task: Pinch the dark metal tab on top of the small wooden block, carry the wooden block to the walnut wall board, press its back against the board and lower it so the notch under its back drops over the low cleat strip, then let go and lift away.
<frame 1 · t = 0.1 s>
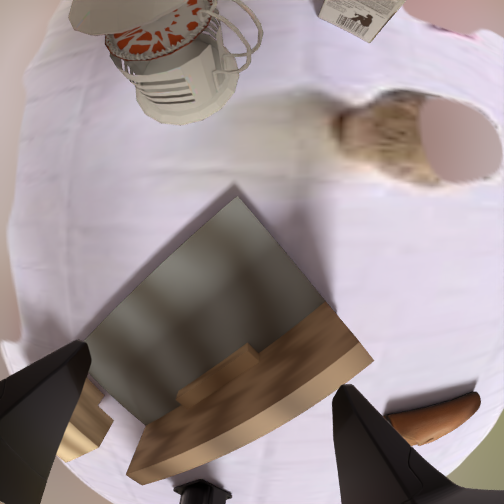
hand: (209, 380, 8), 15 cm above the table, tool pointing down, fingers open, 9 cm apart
french press: (194, 80, 21), on the table
wall board: (189, 342, 24), on the table
sunglasses case: (424, 419, 28), on the table
wooden block: (81, 403, 26), on the table
coffee box: (353, 10, 20), on the table
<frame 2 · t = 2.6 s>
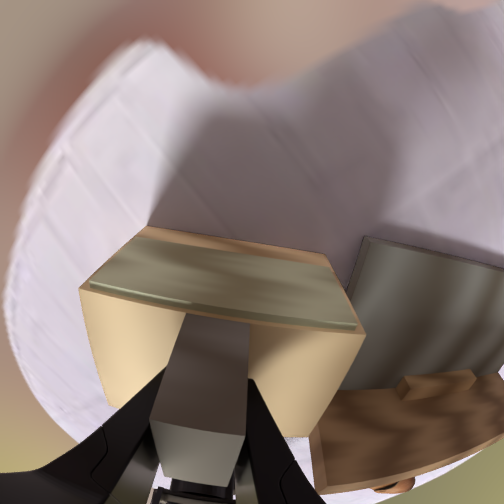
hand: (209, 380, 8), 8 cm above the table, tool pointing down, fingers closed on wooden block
wall board: (453, 339, 18), on the table
sunglasses case: (386, 473, 31), on the table
wooden block: (226, 295, 16), on the table, touching gripper
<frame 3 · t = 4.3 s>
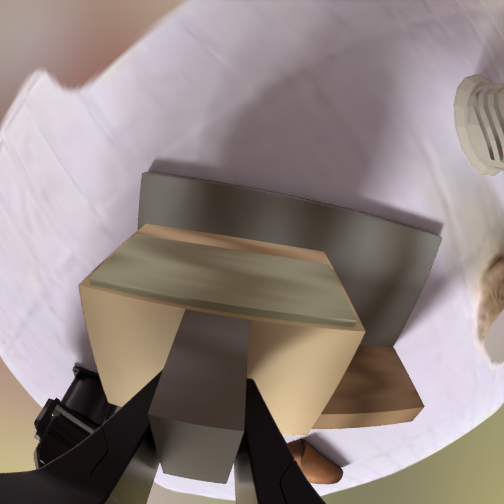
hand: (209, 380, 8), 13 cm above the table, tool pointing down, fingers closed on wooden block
french press: (488, 134, 16), on the table
wall board: (288, 285, 22), on the table
sunglasses case: (303, 458, 36), on the table
wooden block: (226, 292, 16), point 5 cm above the table, touching gripper
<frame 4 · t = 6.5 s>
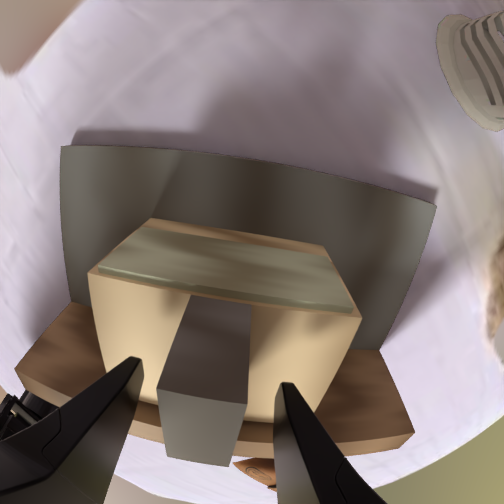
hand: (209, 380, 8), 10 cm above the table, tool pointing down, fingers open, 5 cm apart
french press: (484, 81, 11), on the table
wall board: (231, 271, 17), on the table
sunglasses case: (286, 470, 31), on the table
wooden block: (228, 285, 17), point 1 cm above the table, touching wall board
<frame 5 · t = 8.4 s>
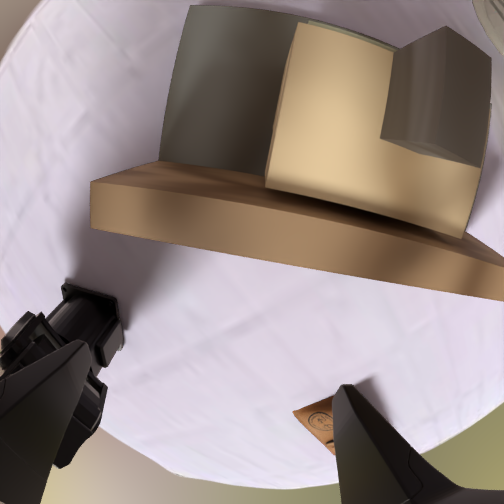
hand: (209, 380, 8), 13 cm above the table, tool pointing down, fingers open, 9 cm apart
wall board: (349, 127, 16), on the table
sunglasses case: (343, 424, 30), on the table
wooden block: (352, 133, 16), point 1 cm above the table, touching wall board
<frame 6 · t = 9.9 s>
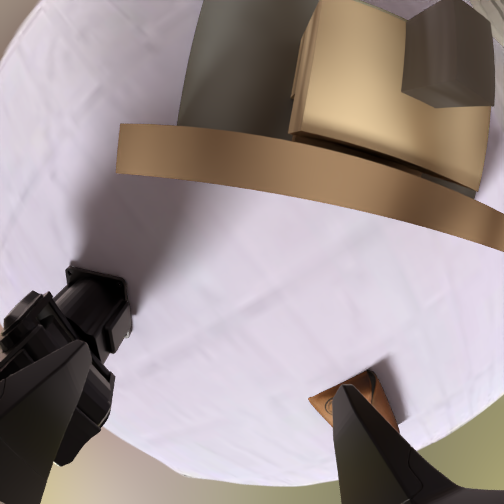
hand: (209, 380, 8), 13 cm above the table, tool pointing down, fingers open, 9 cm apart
french press: (499, 21, 10), on the table
wall board: (362, 99, 16), on the table
sunglasses case: (358, 411, 30), on the table
wooden block: (365, 104, 15), point 1 cm above the table, touching wall board
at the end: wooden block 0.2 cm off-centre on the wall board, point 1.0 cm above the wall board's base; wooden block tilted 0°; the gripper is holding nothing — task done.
